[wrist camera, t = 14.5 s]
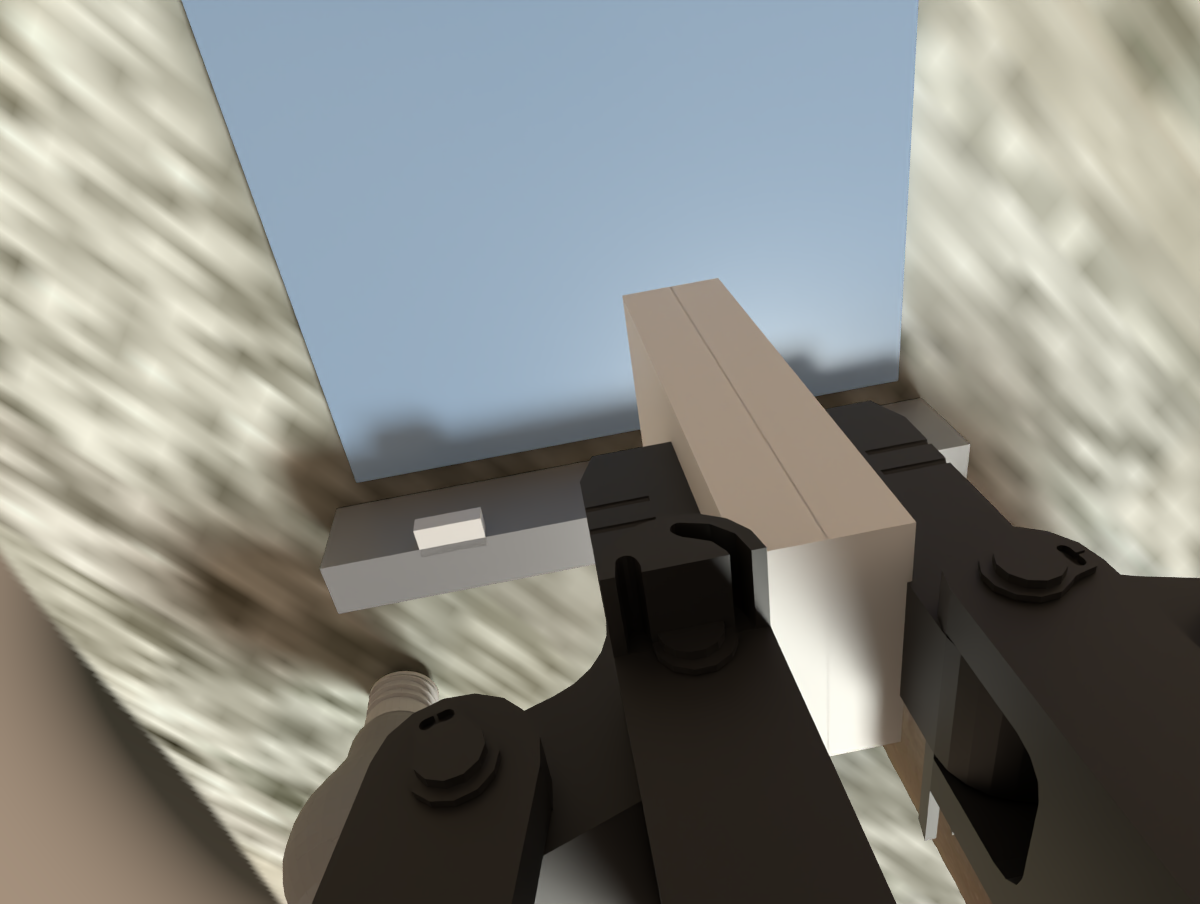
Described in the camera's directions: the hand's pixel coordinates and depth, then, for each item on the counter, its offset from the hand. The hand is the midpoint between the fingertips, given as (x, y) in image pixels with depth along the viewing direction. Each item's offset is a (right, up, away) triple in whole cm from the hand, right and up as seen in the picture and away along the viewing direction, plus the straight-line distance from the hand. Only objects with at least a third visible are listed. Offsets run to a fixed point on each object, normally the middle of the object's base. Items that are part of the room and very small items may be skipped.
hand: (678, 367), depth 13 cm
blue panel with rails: (-1, +6, +10) cm, 11 cm away
